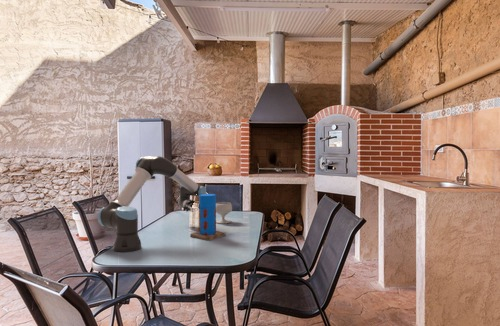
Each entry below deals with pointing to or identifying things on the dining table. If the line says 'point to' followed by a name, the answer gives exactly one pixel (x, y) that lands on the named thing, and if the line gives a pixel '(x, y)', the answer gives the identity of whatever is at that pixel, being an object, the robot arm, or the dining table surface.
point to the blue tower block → (207, 214)
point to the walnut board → (207, 237)
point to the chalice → (223, 211)
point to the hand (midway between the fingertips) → (202, 209)
